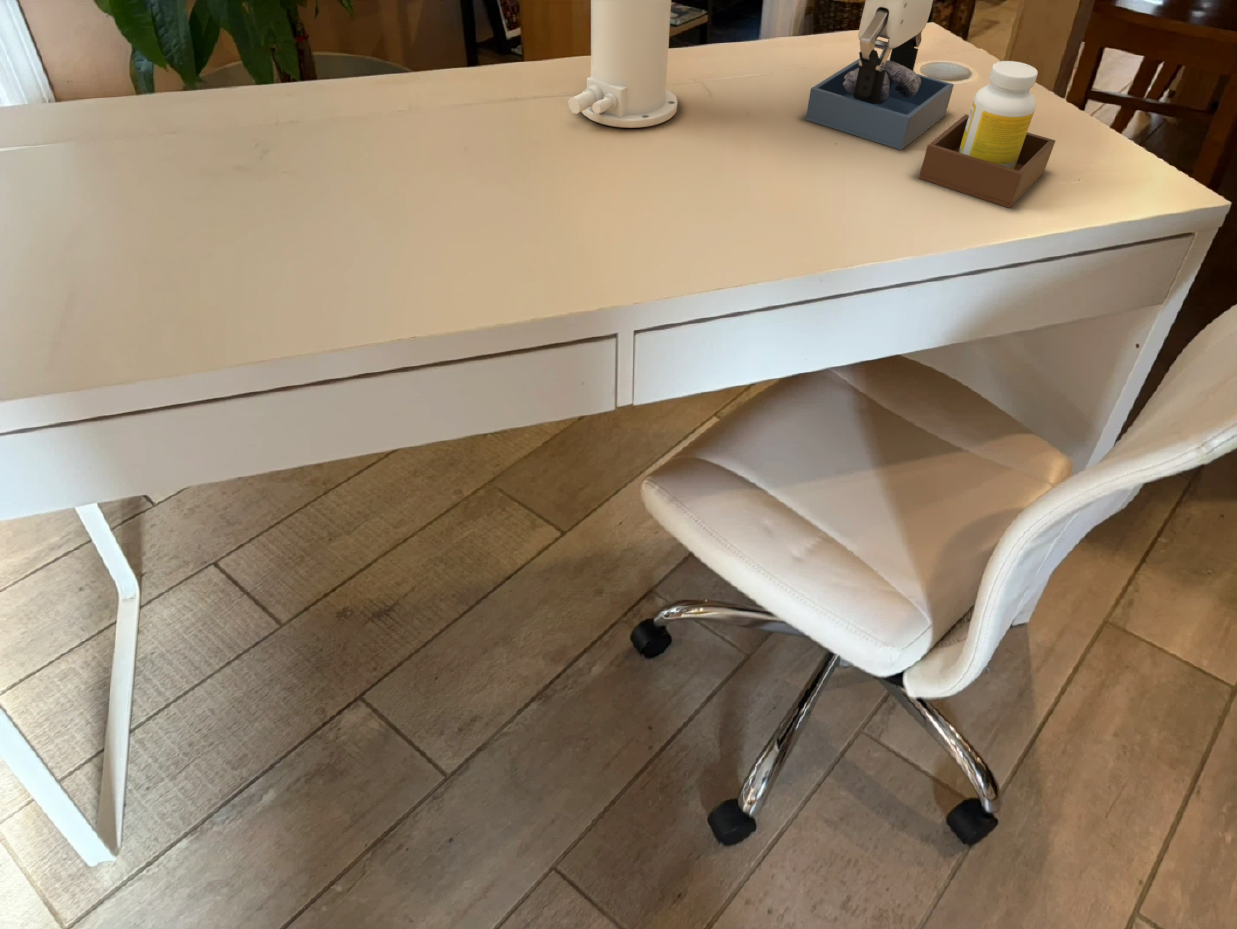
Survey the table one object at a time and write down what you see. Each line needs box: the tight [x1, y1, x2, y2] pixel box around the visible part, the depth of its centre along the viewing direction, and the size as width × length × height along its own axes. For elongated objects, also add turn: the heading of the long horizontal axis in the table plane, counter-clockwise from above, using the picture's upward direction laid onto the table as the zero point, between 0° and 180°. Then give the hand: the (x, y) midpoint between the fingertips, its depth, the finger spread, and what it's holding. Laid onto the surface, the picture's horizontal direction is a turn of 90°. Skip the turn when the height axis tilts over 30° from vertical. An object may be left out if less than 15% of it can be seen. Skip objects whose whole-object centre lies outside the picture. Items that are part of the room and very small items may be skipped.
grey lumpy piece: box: [843, 59, 921, 105], centre depth 112 cm, size 5×5×10 cm
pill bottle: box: [959, 60, 1039, 169], centre depth 100 cm, size 6×6×12 cm
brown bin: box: [918, 114, 1056, 209], centre depth 103 cm, size 11×11×4 cm
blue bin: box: [805, 57, 955, 151], centre depth 114 cm, size 13×13×4 cm
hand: (882, 88), depth 113 cm, fingers closed on grey lumpy piece, 8 cm apart
